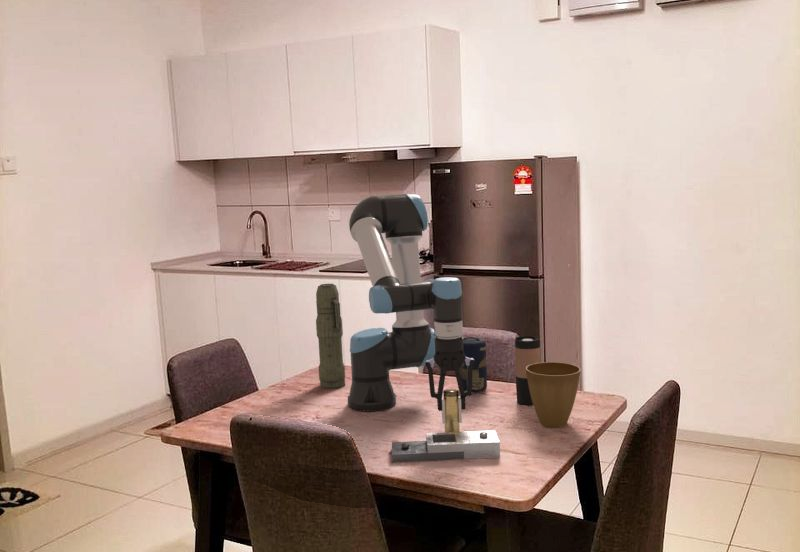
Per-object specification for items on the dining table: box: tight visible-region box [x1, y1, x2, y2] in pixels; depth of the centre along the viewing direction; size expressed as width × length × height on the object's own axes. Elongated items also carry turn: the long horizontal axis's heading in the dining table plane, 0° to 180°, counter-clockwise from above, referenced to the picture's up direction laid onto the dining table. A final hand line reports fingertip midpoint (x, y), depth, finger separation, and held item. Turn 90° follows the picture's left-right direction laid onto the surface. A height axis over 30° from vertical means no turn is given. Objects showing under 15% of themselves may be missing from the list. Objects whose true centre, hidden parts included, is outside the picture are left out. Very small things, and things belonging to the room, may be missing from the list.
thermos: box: [315, 283, 346, 390], centre depth 267 cm, size 9×12×35 cm
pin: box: [443, 388, 461, 432], centre depth 211 cm, size 4×4×13 cm
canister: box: [459, 336, 488, 394], centre depth 254 cm, size 10×10×18 cm
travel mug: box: [514, 335, 542, 407], centre depth 239 cm, size 8×8×20 cm
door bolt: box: [391, 429, 501, 463], centre depth 200 cm, size 9×27×5 cm, turn 91°
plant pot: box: [526, 361, 582, 429], centre depth 219 cm, size 15×15×16 cm
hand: (452, 421), depth 211 cm, fingers closed on pin, 4 cm apart
